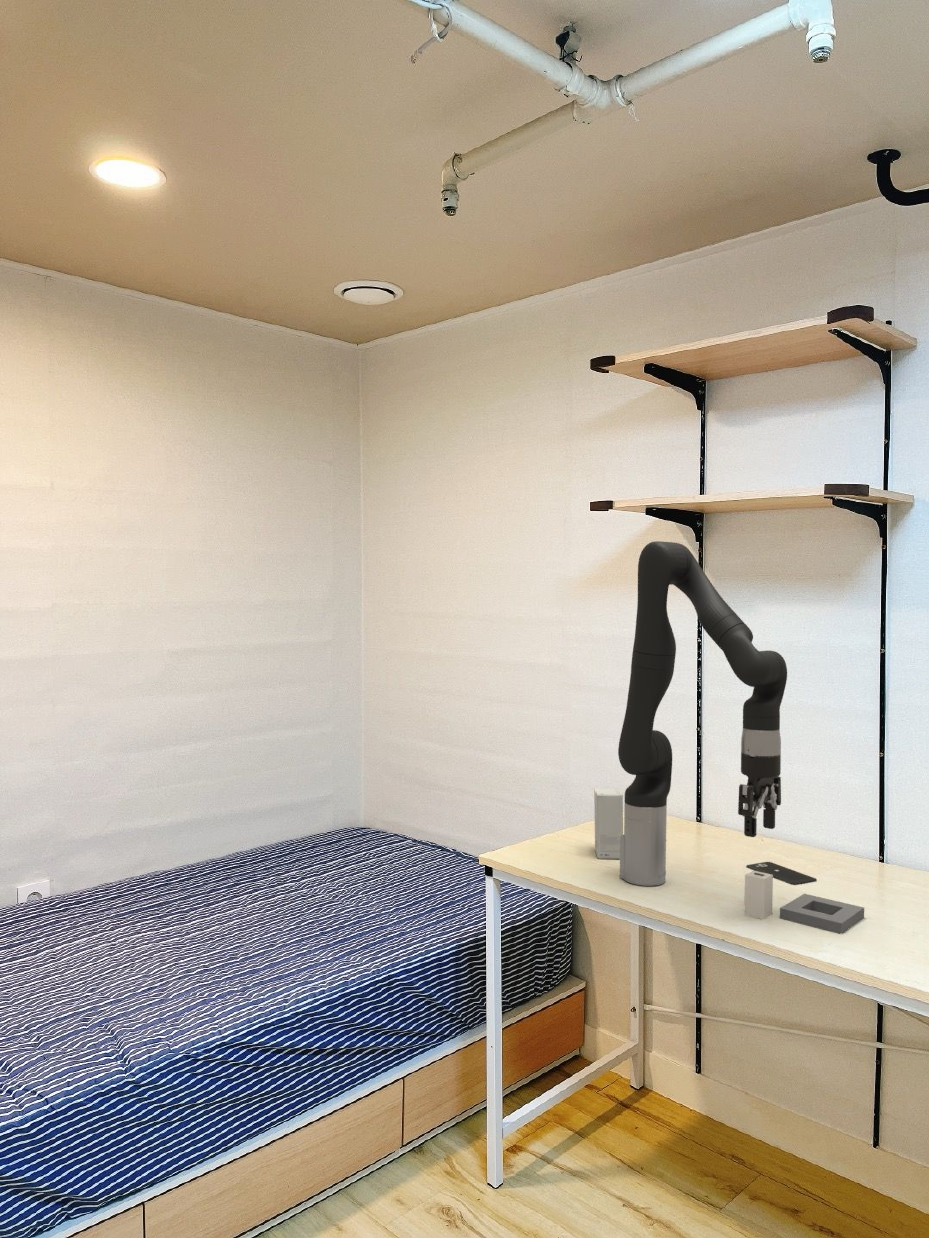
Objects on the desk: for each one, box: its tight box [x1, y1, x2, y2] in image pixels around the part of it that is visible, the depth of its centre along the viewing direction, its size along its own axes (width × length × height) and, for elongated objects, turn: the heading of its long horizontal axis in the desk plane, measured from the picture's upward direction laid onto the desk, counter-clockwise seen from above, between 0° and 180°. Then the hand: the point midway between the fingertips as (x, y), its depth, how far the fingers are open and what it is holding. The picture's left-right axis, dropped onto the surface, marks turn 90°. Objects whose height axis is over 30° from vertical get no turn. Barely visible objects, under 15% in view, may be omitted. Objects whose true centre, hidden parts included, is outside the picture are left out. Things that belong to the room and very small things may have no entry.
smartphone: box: [745, 861, 817, 886], centre depth 208 cm, size 8×15×1 cm, turn 26°
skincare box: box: [593, 788, 624, 860], centre depth 221 cm, size 8×7×16 cm
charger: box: [743, 870, 774, 921], centre depth 181 cm, size 4×4×8 cm
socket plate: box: [779, 893, 865, 934], centre depth 179 cm, size 12×12×2 cm
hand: (759, 832), depth 180 cm, fingers open, 8 cm apart
